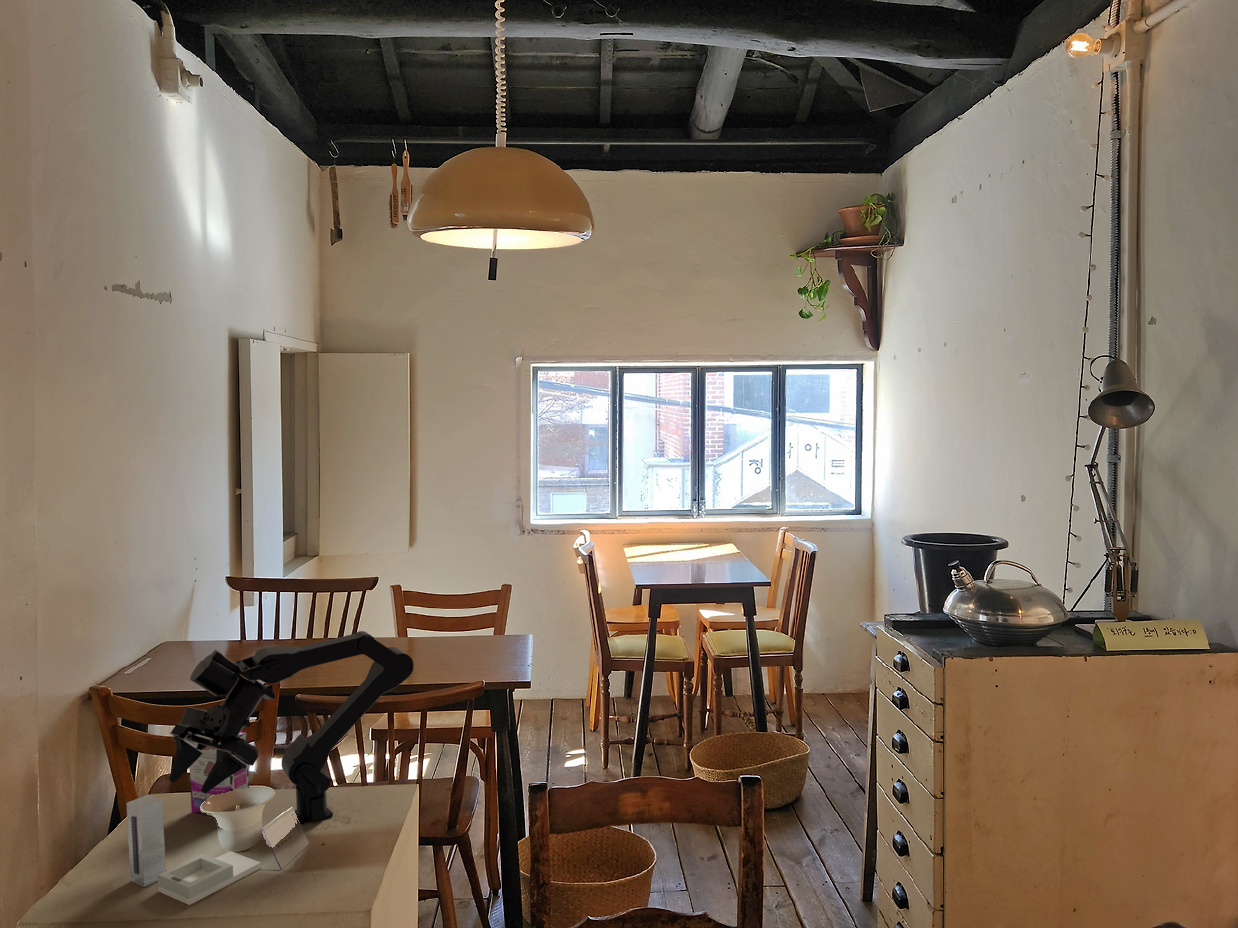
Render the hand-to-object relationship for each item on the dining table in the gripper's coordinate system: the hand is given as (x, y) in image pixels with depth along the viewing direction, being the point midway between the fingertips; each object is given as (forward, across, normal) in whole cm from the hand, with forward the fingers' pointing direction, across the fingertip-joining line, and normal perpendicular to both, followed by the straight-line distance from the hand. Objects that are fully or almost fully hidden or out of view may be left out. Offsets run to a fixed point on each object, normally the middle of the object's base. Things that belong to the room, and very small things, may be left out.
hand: (186, 786), depth 170 cm
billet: (+15, 0, +4) cm, 16 cm away
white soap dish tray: (+11, +10, +8) cm, 17 cm away
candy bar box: (-1, -12, +20) cm, 24 cm away
